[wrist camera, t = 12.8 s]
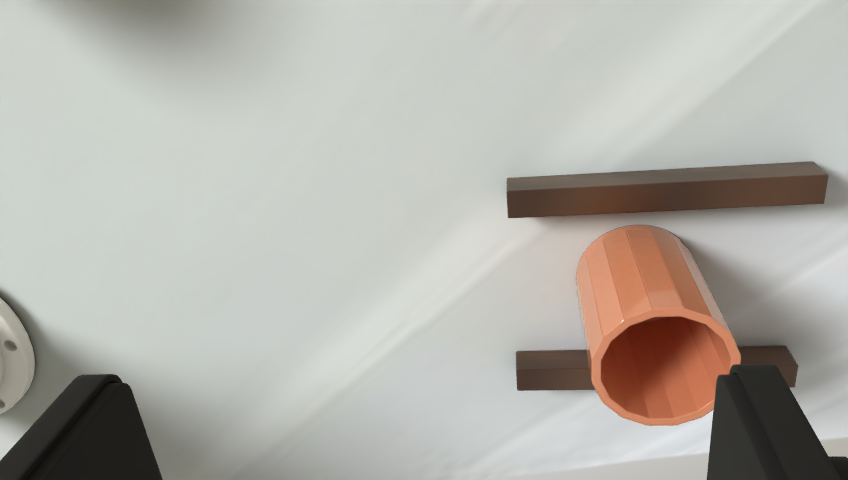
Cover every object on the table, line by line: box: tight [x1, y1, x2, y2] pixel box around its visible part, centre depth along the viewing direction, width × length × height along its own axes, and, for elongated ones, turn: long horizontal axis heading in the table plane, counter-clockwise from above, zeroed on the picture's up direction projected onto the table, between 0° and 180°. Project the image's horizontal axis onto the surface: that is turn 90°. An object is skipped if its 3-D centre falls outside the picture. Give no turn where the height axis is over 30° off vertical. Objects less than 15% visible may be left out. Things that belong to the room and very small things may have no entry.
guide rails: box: [507, 162, 828, 391], centre depth 40 cm, size 16×13×2 cm
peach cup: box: [576, 225, 741, 426], centre depth 37 cm, size 7×7×9 cm
